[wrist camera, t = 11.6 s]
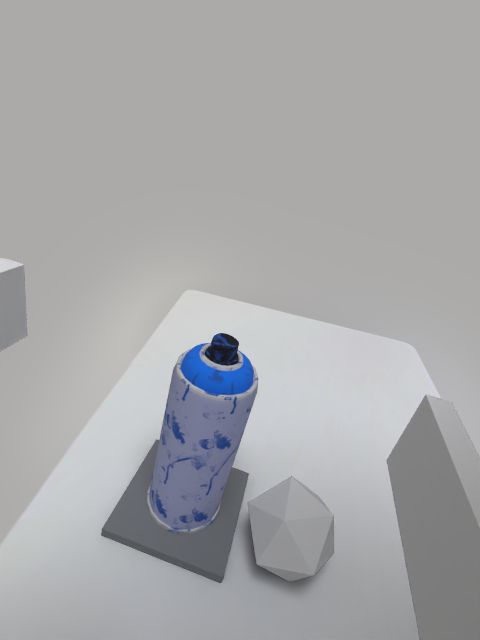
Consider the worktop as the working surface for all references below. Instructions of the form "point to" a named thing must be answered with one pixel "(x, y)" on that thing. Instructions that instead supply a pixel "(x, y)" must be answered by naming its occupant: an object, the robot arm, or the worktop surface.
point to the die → (291, 530)
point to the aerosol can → (200, 434)
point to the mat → (179, 549)
